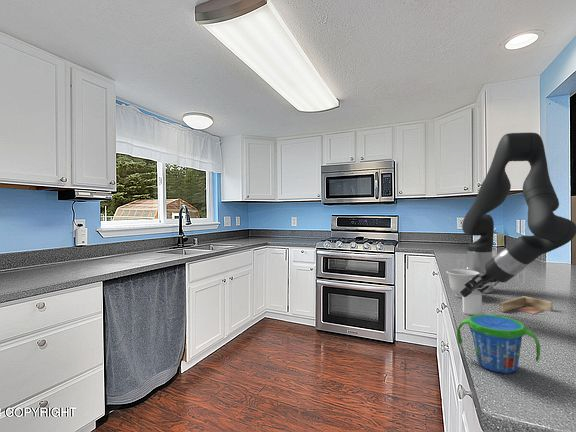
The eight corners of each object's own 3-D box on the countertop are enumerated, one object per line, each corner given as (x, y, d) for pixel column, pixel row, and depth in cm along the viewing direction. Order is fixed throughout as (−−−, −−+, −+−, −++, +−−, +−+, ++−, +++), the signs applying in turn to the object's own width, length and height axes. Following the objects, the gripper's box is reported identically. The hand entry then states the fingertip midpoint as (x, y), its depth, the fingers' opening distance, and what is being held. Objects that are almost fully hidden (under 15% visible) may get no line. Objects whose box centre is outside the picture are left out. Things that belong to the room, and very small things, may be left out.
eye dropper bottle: (480, 317, 99) (479, 281, 99) (461, 313, 103) (460, 278, 103) (483, 314, 103) (482, 278, 102) (465, 310, 107) (464, 276, 106)
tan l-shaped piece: (499, 311, 105) (499, 302, 105) (523, 304, 112) (523, 296, 112) (528, 319, 97) (528, 309, 97) (552, 310, 104) (552, 301, 104)
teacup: (467, 290, 132) (467, 267, 132) (486, 300, 117) (486, 274, 117) (439, 290, 133) (438, 268, 133) (454, 300, 119) (453, 275, 118)
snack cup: (451, 362, 71) (450, 319, 71) (466, 347, 78) (465, 308, 78) (536, 389, 60) (535, 338, 59) (544, 369, 67) (543, 324, 67)
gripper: (509, 252, 99) (474, 281, 109) (483, 256, 92) (449, 286, 103) (528, 271, 94) (490, 299, 104) (503, 277, 88) (465, 306, 98)
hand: (470, 292), depth 103 cm, fingers open, 8 cm apart
